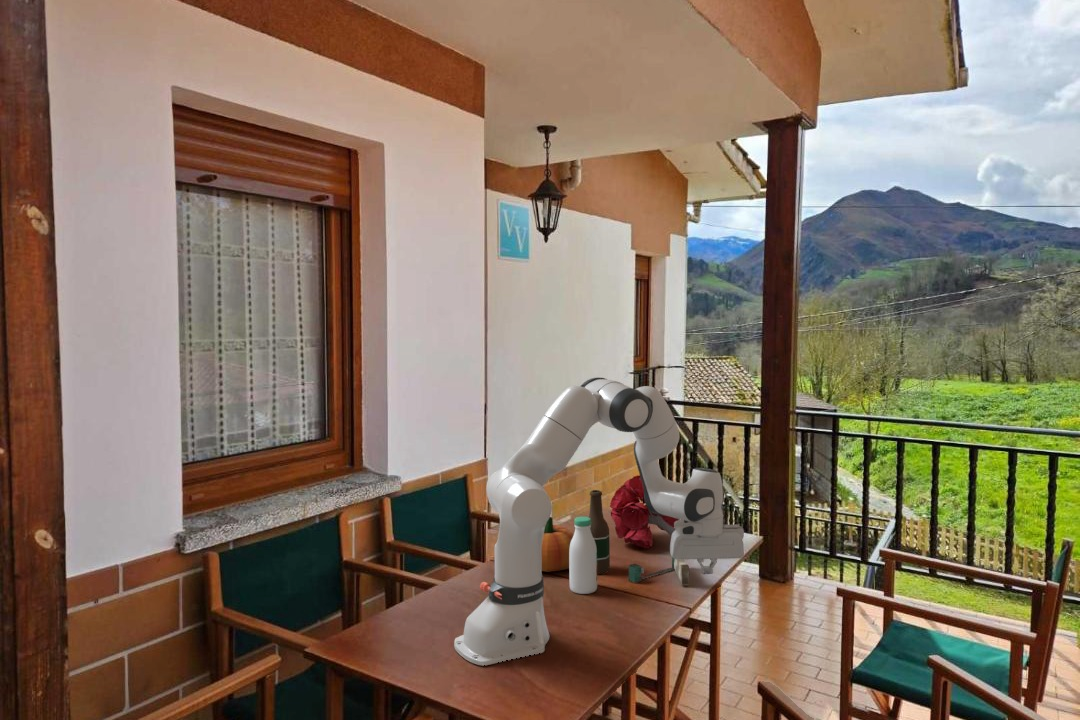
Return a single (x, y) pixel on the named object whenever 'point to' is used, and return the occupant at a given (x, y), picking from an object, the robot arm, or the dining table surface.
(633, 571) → the dark green brushed box
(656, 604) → the dining table surface
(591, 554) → the milk bottle
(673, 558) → the hinge post
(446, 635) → the dining table surface
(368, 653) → the dining table surface
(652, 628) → the dining table surface
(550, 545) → the pumpkin
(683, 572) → the grey rectangular bar
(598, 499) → the beer bottle
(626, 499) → the bouquet
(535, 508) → the robot arm
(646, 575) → the grey metal rod
